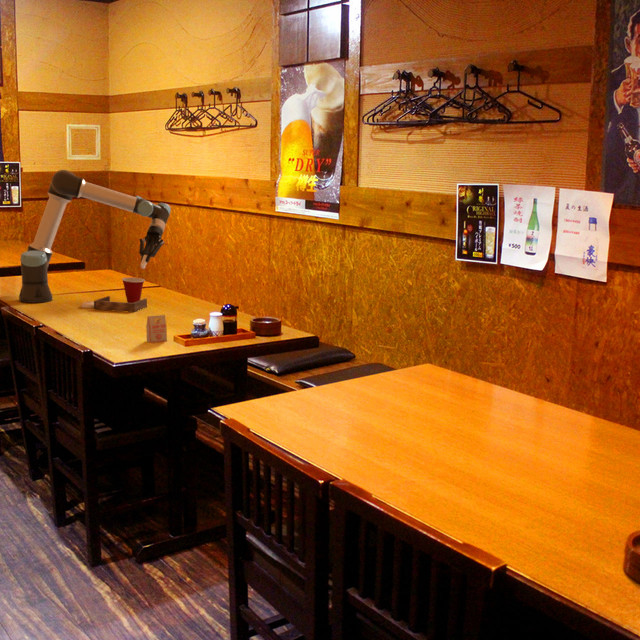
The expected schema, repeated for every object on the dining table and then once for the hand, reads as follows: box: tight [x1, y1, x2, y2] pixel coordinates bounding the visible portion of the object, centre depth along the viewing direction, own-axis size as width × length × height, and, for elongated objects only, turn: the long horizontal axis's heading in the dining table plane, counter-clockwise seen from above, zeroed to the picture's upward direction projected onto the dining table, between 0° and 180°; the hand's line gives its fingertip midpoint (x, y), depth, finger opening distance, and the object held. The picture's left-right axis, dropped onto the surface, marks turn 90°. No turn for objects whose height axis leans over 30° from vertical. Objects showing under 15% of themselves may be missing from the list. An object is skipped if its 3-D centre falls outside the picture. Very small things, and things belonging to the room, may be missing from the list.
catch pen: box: [93, 295, 148, 313], centre depth 352 cm, size 20×13×4 cm, turn 77°
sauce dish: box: [80, 301, 94, 309], centre depth 354 cm, size 8×8×2 cm
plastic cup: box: [121, 277, 146, 303], centre depth 364 cm, size 11×11×12 cm
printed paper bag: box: [145, 314, 168, 344], centre depth 291 cm, size 4×7×10 cm, turn 120°
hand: (142, 266), depth 372 cm, fingers closed
